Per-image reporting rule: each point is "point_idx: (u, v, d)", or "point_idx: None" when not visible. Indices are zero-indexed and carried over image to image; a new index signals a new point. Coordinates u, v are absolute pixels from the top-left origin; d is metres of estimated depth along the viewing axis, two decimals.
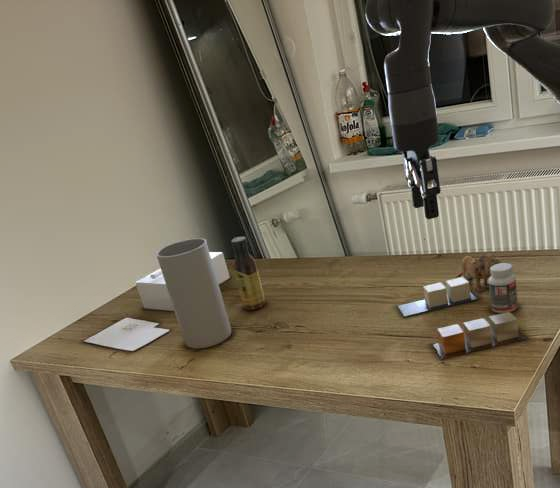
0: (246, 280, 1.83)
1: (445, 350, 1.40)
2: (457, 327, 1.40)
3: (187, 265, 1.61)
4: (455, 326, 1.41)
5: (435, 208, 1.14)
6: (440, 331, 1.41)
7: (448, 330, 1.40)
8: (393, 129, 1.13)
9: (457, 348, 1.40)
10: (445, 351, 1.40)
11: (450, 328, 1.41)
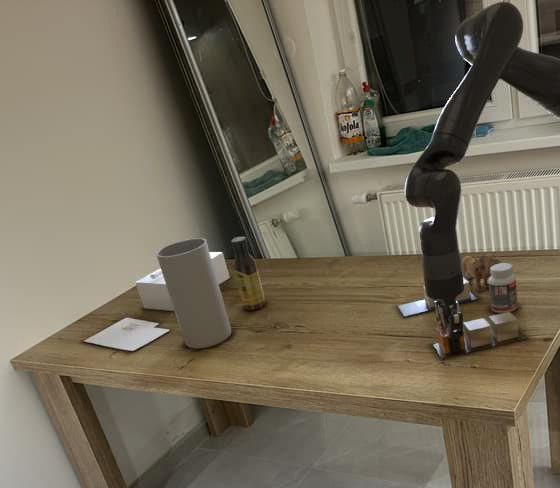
0: (246, 280, 1.83)
1: (445, 350, 1.40)
2: None
3: (187, 265, 1.61)
4: None
5: (458, 346, 1.38)
6: (440, 331, 1.41)
7: None
8: (425, 281, 1.34)
9: None
10: (445, 351, 1.40)
11: None
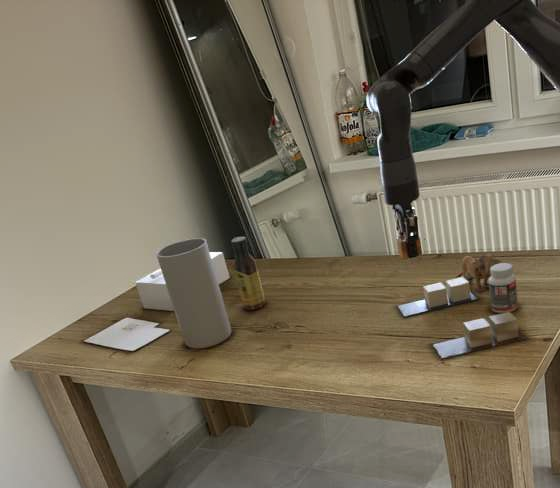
0: (246, 280, 1.83)
1: (403, 255, 1.52)
2: None
3: (187, 265, 1.61)
4: (412, 234, 1.53)
5: (415, 250, 1.50)
6: (399, 238, 1.53)
7: None
8: (384, 188, 1.46)
9: None
10: (403, 256, 1.52)
11: None
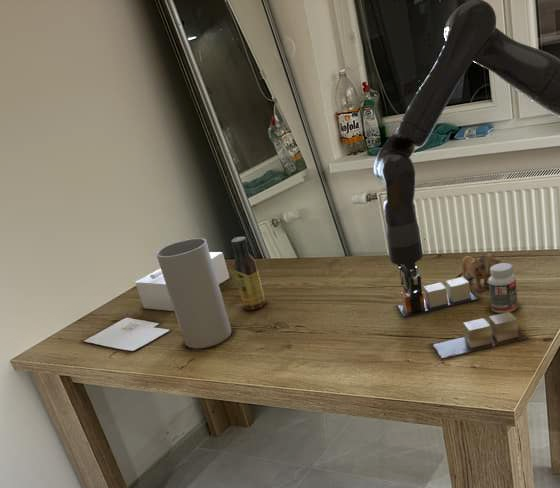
0: (246, 280, 1.83)
1: (407, 309, 1.62)
2: None
3: (187, 265, 1.61)
4: None
5: (418, 305, 1.60)
6: (403, 293, 1.63)
7: None
8: (389, 249, 1.56)
9: None
10: (407, 310, 1.62)
11: None
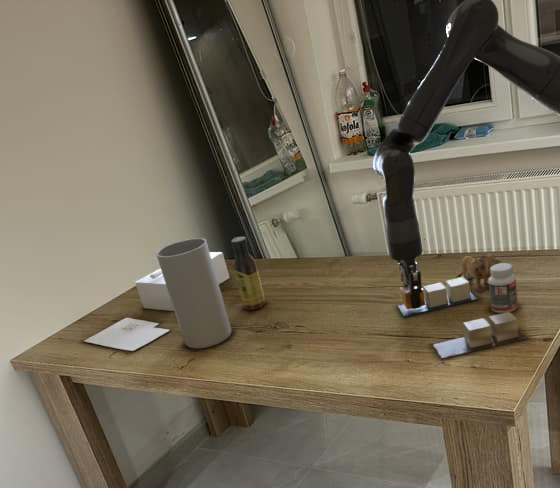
0: (246, 280, 1.83)
1: (407, 306, 1.61)
2: None
3: (187, 265, 1.61)
4: None
5: (418, 301, 1.59)
6: (403, 289, 1.62)
7: None
8: (389, 244, 1.56)
9: None
10: (407, 306, 1.61)
11: None
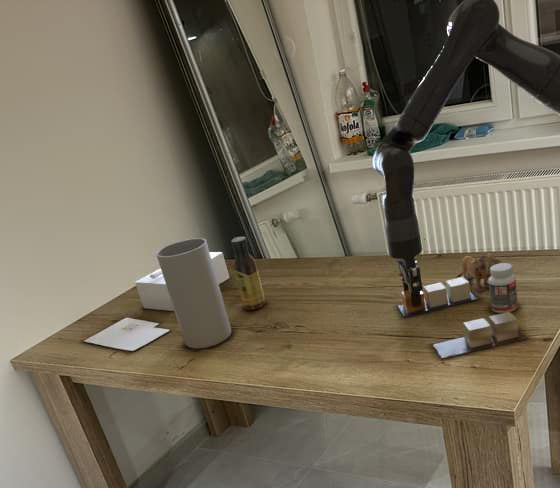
0: (246, 280, 1.83)
1: (407, 309, 1.61)
2: None
3: (187, 265, 1.61)
4: None
5: (419, 300, 1.58)
6: (403, 293, 1.63)
7: None
8: (389, 243, 1.56)
9: (418, 308, 1.61)
10: (408, 310, 1.62)
11: None
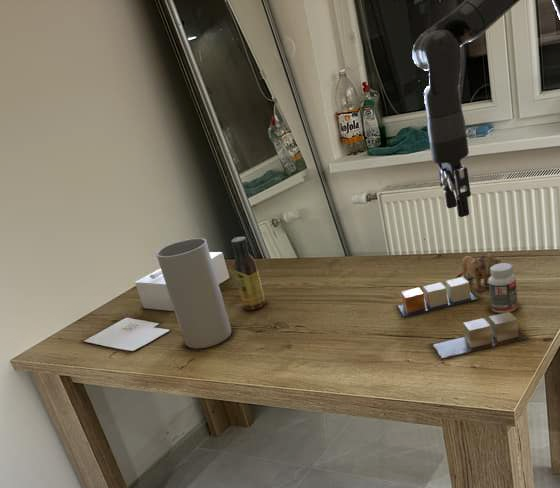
0: (246, 280, 1.83)
1: (407, 309, 1.61)
2: (418, 290, 1.62)
3: (187, 265, 1.61)
4: (416, 289, 1.63)
5: (466, 208, 1.42)
6: (403, 293, 1.63)
7: (410, 292, 1.62)
8: (431, 146, 1.41)
9: (418, 308, 1.61)
10: (408, 310, 1.62)
11: (412, 291, 1.63)
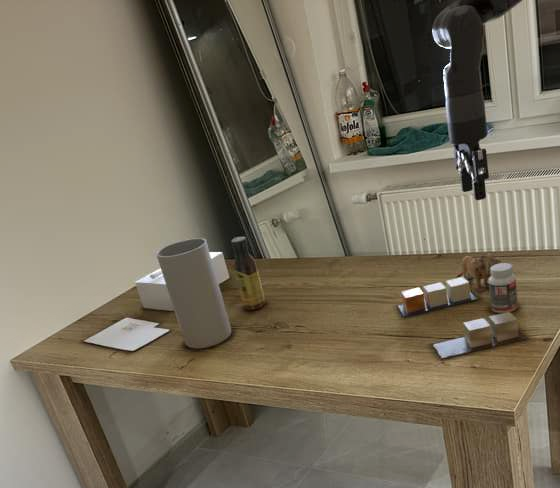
0: (246, 280, 1.83)
1: (407, 309, 1.61)
2: (418, 290, 1.62)
3: (187, 265, 1.61)
4: (416, 289, 1.63)
5: (483, 191, 1.39)
6: (403, 293, 1.63)
7: (410, 292, 1.62)
8: (449, 126, 1.37)
9: (418, 308, 1.61)
10: (408, 310, 1.62)
11: (412, 291, 1.63)
